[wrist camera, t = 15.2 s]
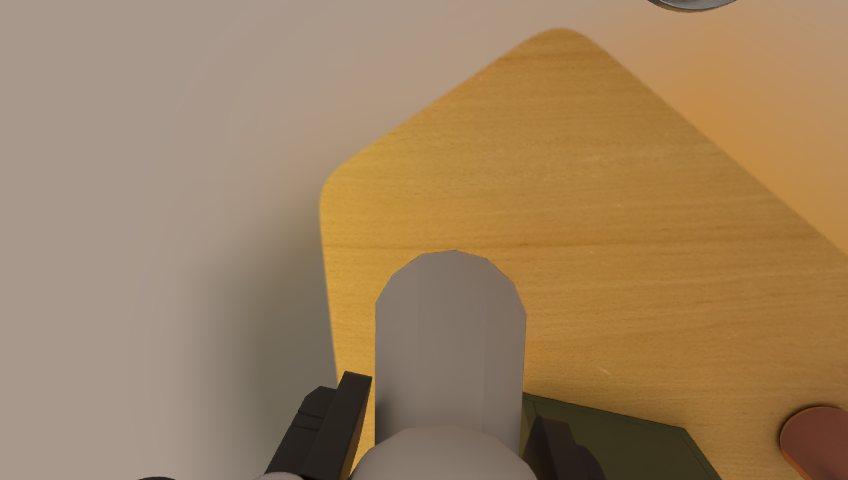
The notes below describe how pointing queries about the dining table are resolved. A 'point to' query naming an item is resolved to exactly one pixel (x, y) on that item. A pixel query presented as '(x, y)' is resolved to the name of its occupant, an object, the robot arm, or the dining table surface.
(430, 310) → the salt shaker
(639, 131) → the dining table surface
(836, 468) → the beverage can
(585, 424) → the chest
